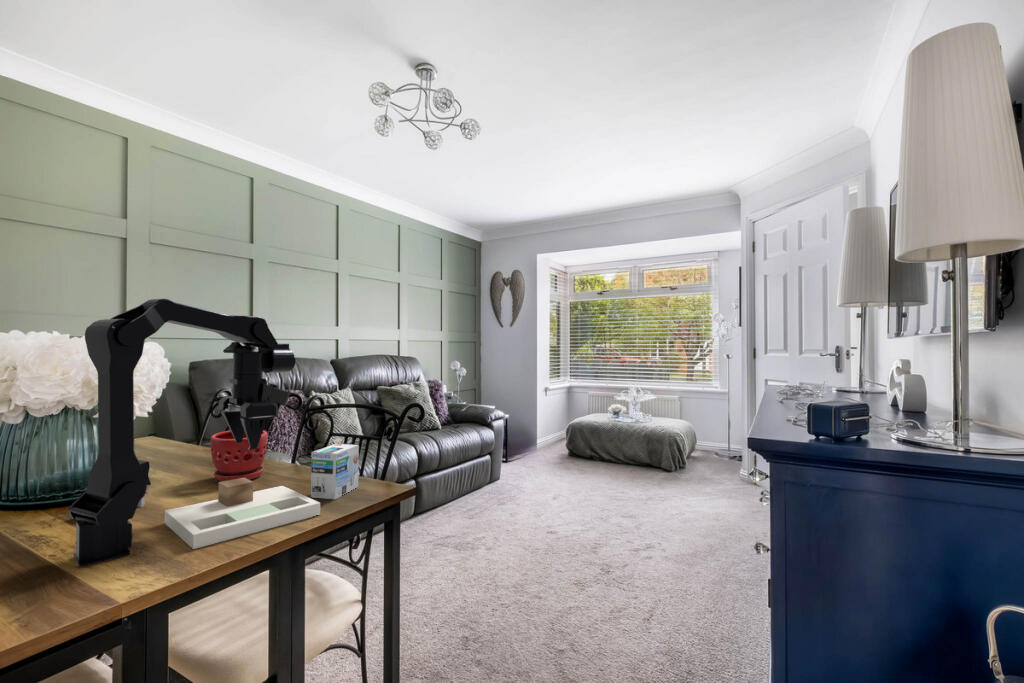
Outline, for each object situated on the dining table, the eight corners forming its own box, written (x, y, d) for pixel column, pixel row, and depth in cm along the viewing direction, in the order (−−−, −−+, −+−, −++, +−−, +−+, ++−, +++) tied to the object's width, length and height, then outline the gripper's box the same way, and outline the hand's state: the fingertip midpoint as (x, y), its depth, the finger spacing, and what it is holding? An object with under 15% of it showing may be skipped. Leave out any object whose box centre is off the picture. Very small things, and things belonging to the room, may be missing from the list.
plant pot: (202, 478, 127) (203, 433, 127) (255, 469, 137) (256, 427, 137) (220, 488, 118) (220, 439, 118) (275, 477, 128) (275, 432, 128)
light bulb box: (335, 500, 110) (336, 453, 110) (309, 498, 111) (310, 451, 112) (359, 487, 121) (360, 444, 121) (335, 485, 122) (335, 442, 122)
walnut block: (226, 506, 98) (227, 487, 98) (218, 501, 101) (218, 482, 101) (252, 500, 101) (253, 481, 101) (243, 495, 105) (244, 477, 105)
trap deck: (193, 549, 83) (193, 534, 83) (164, 523, 95) (164, 510, 95) (320, 514, 101) (320, 502, 101) (282, 496, 112) (282, 485, 112)
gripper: (303, 374, 104) (301, 446, 104) (270, 371, 117) (268, 435, 117) (247, 376, 96) (246, 454, 96) (218, 372, 109) (217, 441, 109)
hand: (246, 445), depth 104 cm, fingers open, 9 cm apart
